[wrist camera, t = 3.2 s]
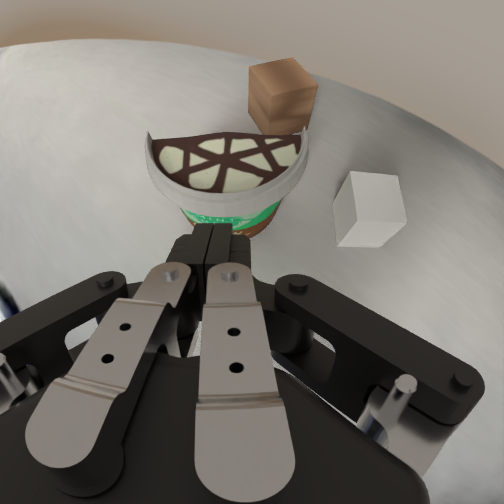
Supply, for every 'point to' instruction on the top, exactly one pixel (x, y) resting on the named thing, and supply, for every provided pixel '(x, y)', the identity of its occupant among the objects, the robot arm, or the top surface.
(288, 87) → the walnut block
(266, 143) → the food container
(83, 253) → the top surface
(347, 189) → the grey plastic block
